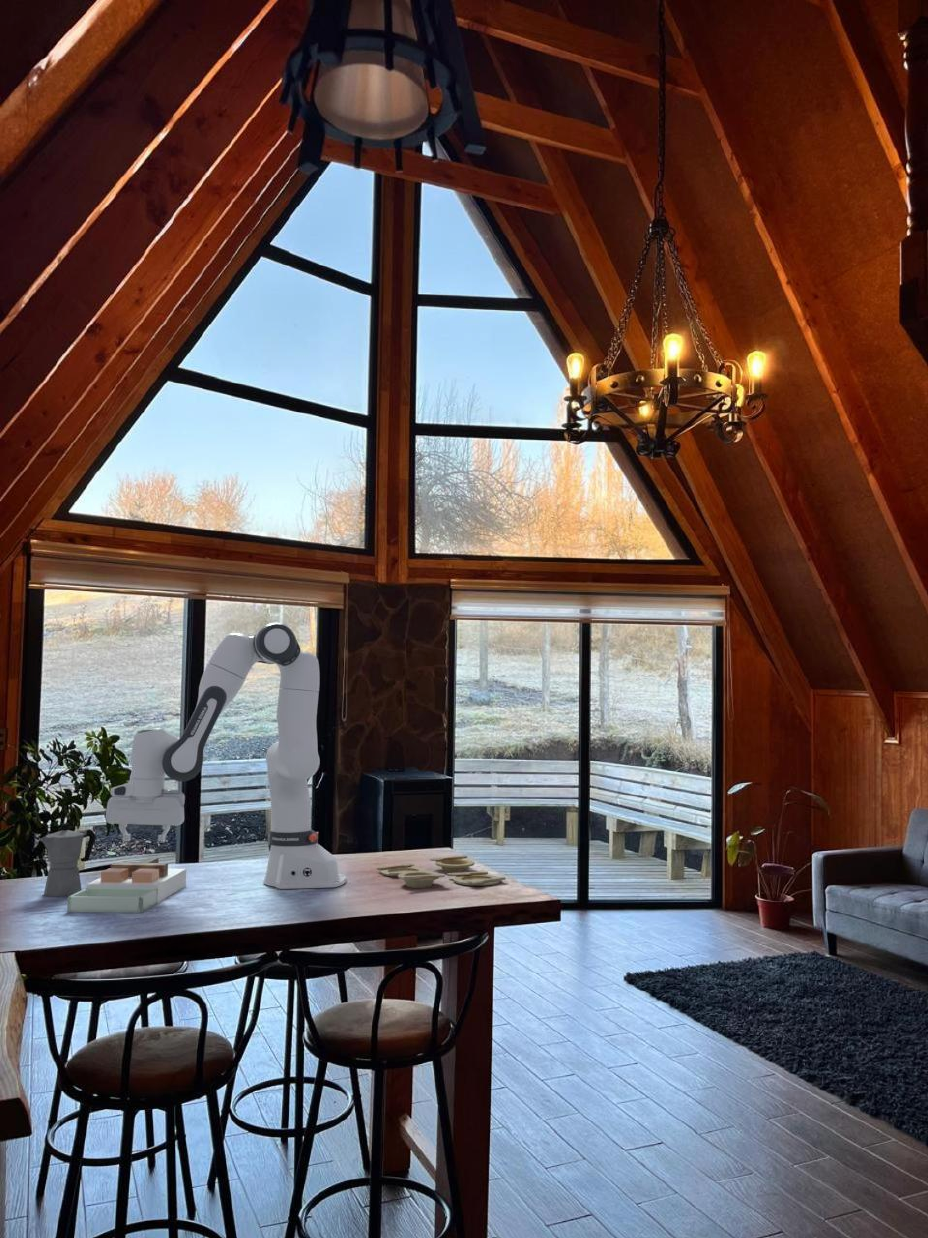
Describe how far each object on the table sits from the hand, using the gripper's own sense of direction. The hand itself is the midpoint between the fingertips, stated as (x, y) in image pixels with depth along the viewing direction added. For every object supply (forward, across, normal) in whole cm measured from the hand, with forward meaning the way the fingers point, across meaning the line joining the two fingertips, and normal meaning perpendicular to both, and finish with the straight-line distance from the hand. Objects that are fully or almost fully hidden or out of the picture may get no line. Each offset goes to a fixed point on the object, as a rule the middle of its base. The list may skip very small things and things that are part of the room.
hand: (143, 841), depth 246 cm
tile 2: (+8, +3, +10) cm, 13 cm away
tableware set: (+12, -77, -21) cm, 81 cm away
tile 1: (+8, -5, +10) cm, 14 cm away
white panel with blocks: (+13, -1, +4) cm, 13 cm away
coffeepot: (+13, +18, +4) cm, 23 cm away
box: (+13, -1, +20) cm, 24 cm away
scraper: (+8, -1, 0) cm, 8 cm away
